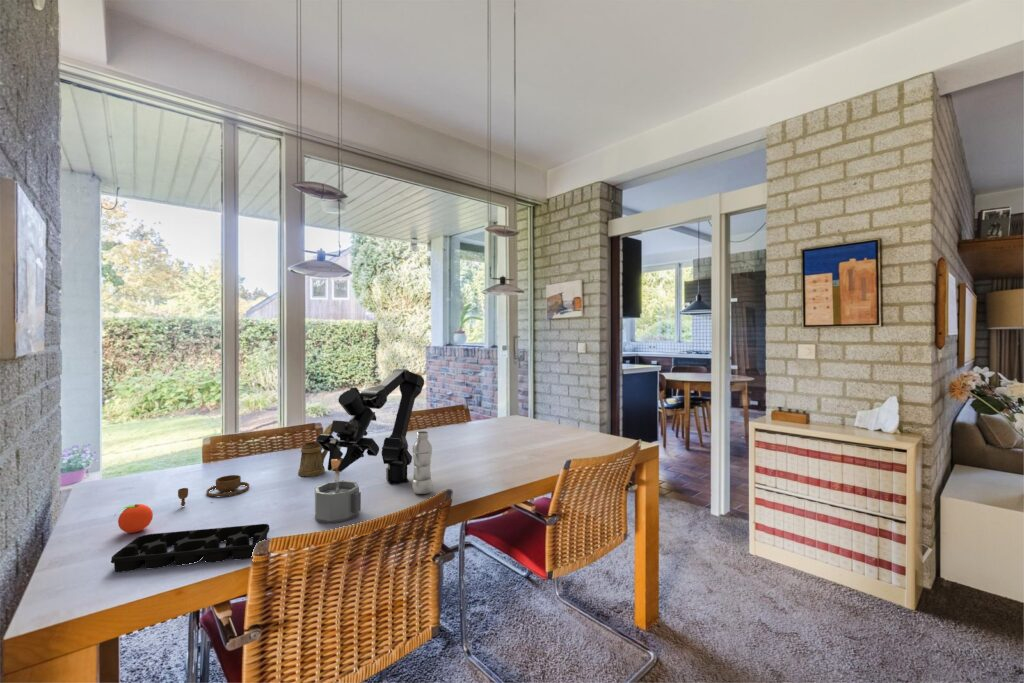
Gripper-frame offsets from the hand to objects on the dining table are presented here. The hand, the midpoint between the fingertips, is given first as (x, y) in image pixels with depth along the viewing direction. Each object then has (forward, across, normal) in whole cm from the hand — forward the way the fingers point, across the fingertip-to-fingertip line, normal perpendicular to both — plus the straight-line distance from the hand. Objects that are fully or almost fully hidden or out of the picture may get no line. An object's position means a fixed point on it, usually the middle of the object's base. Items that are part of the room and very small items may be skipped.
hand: (333, 470), depth 125 cm
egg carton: (+29, -16, -10) cm, 35 cm away
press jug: (+8, 0, +10) cm, 13 cm away
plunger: (+4, 0, +6) cm, 8 cm away
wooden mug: (-14, -34, +33) cm, 49 cm away
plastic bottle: (-8, +14, +27) cm, 32 cm away
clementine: (+26, -43, -8) cm, 51 cm away
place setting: (+8, -49, +12) cm, 51 cm away
